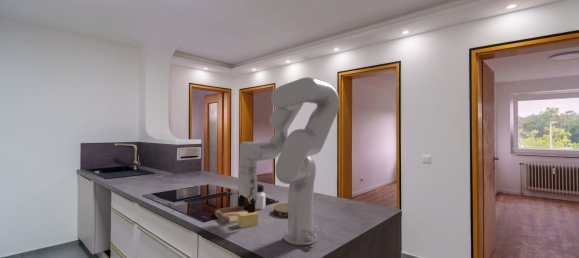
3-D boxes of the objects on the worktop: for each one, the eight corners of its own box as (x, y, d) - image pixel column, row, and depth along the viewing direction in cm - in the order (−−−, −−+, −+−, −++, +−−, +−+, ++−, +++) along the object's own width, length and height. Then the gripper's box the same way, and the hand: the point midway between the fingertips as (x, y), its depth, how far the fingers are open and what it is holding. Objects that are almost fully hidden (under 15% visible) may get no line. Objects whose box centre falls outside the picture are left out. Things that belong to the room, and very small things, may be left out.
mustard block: (257, 225, 119) (258, 213, 119) (241, 228, 115) (241, 216, 115) (253, 222, 122) (253, 211, 122) (237, 225, 118) (237, 213, 118)
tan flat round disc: (311, 215, 134) (311, 209, 134) (282, 220, 126) (283, 213, 126) (294, 207, 147) (294, 201, 147) (268, 211, 139) (268, 205, 139)
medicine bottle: (265, 206, 149) (265, 183, 149) (262, 209, 142) (263, 186, 142) (252, 205, 150) (252, 183, 150) (249, 209, 142) (249, 186, 143)
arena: (257, 218, 128) (257, 212, 128) (226, 224, 119) (226, 218, 119) (242, 209, 141) (242, 205, 141) (214, 214, 133) (214, 209, 133)
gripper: (265, 172, 114) (263, 213, 114) (247, 166, 128) (245, 203, 128) (248, 174, 110) (246, 216, 110) (232, 167, 124) (230, 205, 124)
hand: (246, 209), depth 119 cm, fingers open, 9 cm apart
